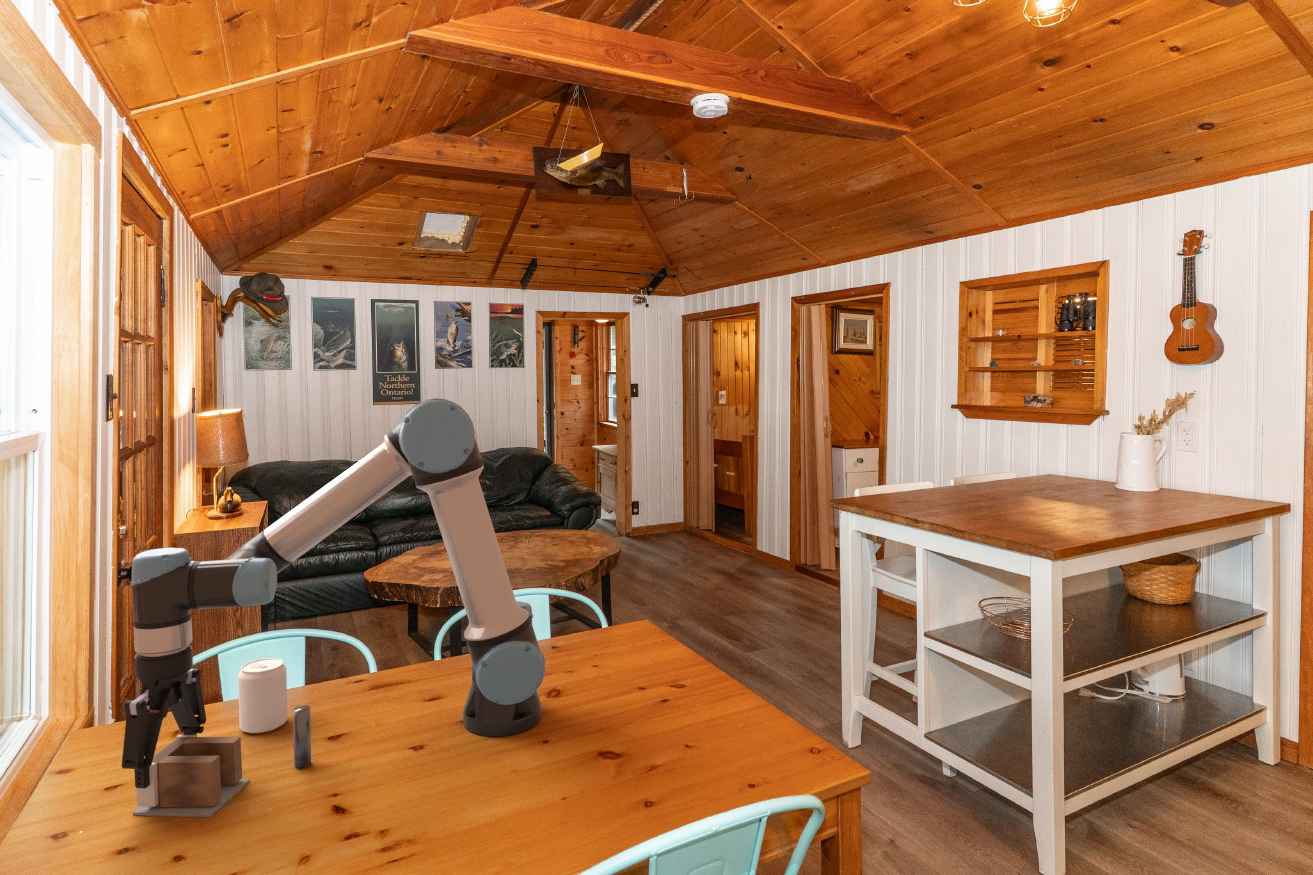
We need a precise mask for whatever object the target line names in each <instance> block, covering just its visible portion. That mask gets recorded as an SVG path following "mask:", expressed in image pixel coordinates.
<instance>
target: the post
mask: <svg viewBox="0 0 1313 875" xmlns="http://www.w3.org/2000/svg"><path fill="white" fill-rule="evenodd" d="M292 715H293V716H292V719H293V720H292V721H293V725H292V726H293V756H294V757H293V758H294V759H293V760H294V762H293V764H294V769H297V770H303V769H306V768H307V769H308V768H309V767H310V766H311V765H312V743H311V742H312V738H311V736H312V735H311V705H306V704H305V705H304V704H303V705H299V706H295V707H294V708H293V709H292Z"/></svg>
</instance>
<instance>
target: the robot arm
mask: <svg viewBox="0 0 1313 875" xmlns="http://www.w3.org/2000/svg"><path fill="white" fill-rule="evenodd" d="M475 435H476V430H475V426H474V423H473V421H472V418H471V417H470V415H469V414H468V412H466V410H465V409H464V408H463V407H462V406H461V405H459V404H458V403H456V402H453V401H451V400H448V399H445V398H430V399H425V400H423V401H421V402H417V403H416V404H414V405H413V406H411V408H410V409H409V410H407V412H406V413H405V414H404V416H403V418H402V420H401V422H400V423H398V424H397V426H395V427H393V429H391V430H390V431H388V432H387V433H385V434H384V439H383V442H382V443H381V444H379V446H377V447H376V448H375V449H373V450H372V451H370V452H369V453H368V454H366V455H365V456H363V458H361V459H360V460H358V461H356V463H354V464H353V465H352V466H350V467H348V468H347V469H346V470H344V471H343V472H342V473H341V474H339V475H338V476H336V477H335V478H334V479H332V480H331V481H329V482H328V483H326V484H325V485H324V486H323V487H321V488H320V489H319V490H317V491H315V492H314V493H313V494H311V495H310V496H309V497H308V498H306V499H304V500H303V501H302V502H300V503H299V504H298V505H296V506H295V507H294V508H292V509H291V510H290V511H288V512H287V513H285V514H284V515H282V516H281V517H280V518H278V519H277V520H275V521H274V522H273V523H271V524H270V525H269V526H267V527H266V528H265V529H264V530H262V531H261V532H259V533H258V534H256V535H255V536H254V537H252V538H251V539H250V540H248V541H246V542H244V543H243V544H241V545H240V546H239V547H238V548H237V549H235V551H234V552H233V553H231V554H230V555H229V556H228V557H226V558H225V559H217V560H216V559H215V560H199V561H198V560H192V558H191V557H190V551H189V550H187V549H186V548H183V547H163V548H155V549H149V550H148V549H147V550H144V551H142V552H140V553H137V554H136V555H135V556H134V557H133V559H132V561H131V581H130V587H131V588H130V589H131V600H132V601H131V603H132V604H131V605H132V617H133V618H132V619H133V622H132V623H133V624H132V625H133V647H134V648H133V649H134V651H135V652H136V653H135V655H134V657H133V659H134V676H135V678H136V679H137V680H139V681H140V683H141V689H140V692H139V696H138V697H136V698H135V699H134V700H132V699H131V700H129V699H128V700H127V701H126V702H125V703H124V710H125V711H124V712H125V726H124V728H125V729H124V738H123V747H122V748H123V749H122V759H121V768H122V769H127V770H132V769H133V770H134V786H135V788H136V803H137V804H136V806H137V807H141V806H148V807H155V806H156V805H158V779H157V763H154V762H152V761H153V757H154V756H155V752H156V749H157V744H158V742H159V741H158V740H159V736H160V732H161V728H162V724H163V720H164V719H165V718H166V717H167V716H168V713H169V709H170V711H171V713H172V716H173V719H174V720H175V722H176V725H177V727H178V729H179V731H180V733H182V734H178V735H177V736H176V739H177V738H178V737H198V735H197V734H202V733H203V732H204V730H205V726H204V725H205V724H206V722H207V713H206V709H205V702H204V696H203V691H202V685H201V684H202V683H201V677H202V669H201V668H193V665H194V660H193V659H194V658H193V646H192V645H191V643H192V642H193V623H192V622H193V621H192V610H207V609H211V610H212V609H223V608H224V609H227V608H250V607H254V606H261V605H262V606H263V605H268V604H270V603H271V602H272V601H273V600H274V598H275V596H276V591H277V587H278V586H277V585H278V574H280V573H281V572H282V571H283V570H285V569H286V568H288V567H289V566H290V565H291V564H292V563H293V562H295V561H297V559H298V558H300V557H301V556H302V555H304V554H306V553H307V552H308V551H310V550H311V549H313V548H314V547H315V546H316V545H318V544H320V542H322V541H323V540H324V539H325V538H327V537H329V536H331V534H333V533H334V532H335V531H337V530H338V529H339V528H341V527H342V526H344V525H345V524H346V523H347V522H349V521H350V520H352V519H353V518H354V517H356V516H357V515H358V514H359V513H361V512H362V511H364V510H365V509H367V508H368V507H369V506H370V505H372V504H374V503H375V502H376V501H377V500H378V499H380V498H382V497H383V496H384V495H385V494H387V493H388V492H389V491H391V490H392V489H394V488H395V487H396V486H398V485H399V484H401V482H403V481H404V480H406V479H407V478H409V477H411V476H412V478H413V481H414V483H415V484H414V485H415V487H416V488H417V489H418V490H421V491H423V492H425V493H427V495H428V497H429V500H430V502H431V507H432V509H433V512H434V515H435V518H436V519H435V520H436V522H437V525H438V529H439V532H440V536H441V537H442V540H443V543H444V547H445V550H446V552H447V557H448V559H449V563H450V566H451V569H452V572H453V576H454V579H455V582H456V584H457V589H458V591H459V594H460V597H461V601H462V604H463V607H464V609H465V613H466V616H467V618H468V625H467V627H466V628H465V630H464V633H463V637H464V639H465V642H466V647H467V649H468V653H469V656H470V658H471V685H470V688H469V692H468V694H467V698H466V700H465V704H464V707H463V712H462V724H463V726H464V728H465V730H467V731H469V732H470V733H473V734H475V735H480V736H487V737H504V736H510V735H511V736H512V735H516V734H520V733H522V732H526V731H528V730H530V729H532V728H533V727H534V726H536V725H537V724H538V723H539V722H540V721H541V719H542V702H541V699H540V696H539V693H538V690H539V688H540V687H541V685H542V683H543V681H544V678H545V674H546V660H545V657H544V653H543V652H542V651H541V649H540V648H541V647H540V646H539V642H538V639H537V635H536V633H535V632H536V631H535V630H534V627H533V618H534V614H533V609H532V605H531V604H530V603H528V602H526V601H525V602H524V601H519V600H516V597H515V594H514V591H513V588H512V584H511V581H510V578H509V574H508V572H507V568H506V565H505V561H504V558H503V555H502V554H503V553H502V551H501V549H500V545H499V542H498V538H497V535H496V532H495V529H494V525H493V522H492V519H491V516H490V513H489V509H488V506H487V503H486V499H485V496H484V492H483V489H482V487H481V483H480V480H479V477H480V475H481V474H482V472H483V470H484V468H485V466H484V463H483V462H484V461H483V459H482V455H481V453H480V450H479V445H478V443H477V439H476V436H475ZM152 711H155V712H152ZM157 711H158V712H157ZM201 725H202V726H201Z"/></svg>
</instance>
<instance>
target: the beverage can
mask: <svg viewBox="0 0 1313 875" xmlns="http://www.w3.org/2000/svg"><path fill="white" fill-rule="evenodd" d="M237 679H238V680H237V681H238V682H237V683H238V684H237V686H238V687H237V688H238V715H239V717H238V718H239V721H238V722H239V729H240V730H241V731H242V732H245V733H249V734H262V733H268V732H271V731H274V730H276V729H277V728H280V727H281V726H283V725H284V724H285V723H287V720H288V717H289V716H288V715H289V714H288V688H287V687H288V684H287V683H288V677H287V666H286V665H285V664H284V660H283V659H281V658H275V657H266V658H260V659H259V658H258V659H255V660H251V661H248V662H246V663H244V664H243V665H241V667H240V671H239V672H238V676H237Z"/></svg>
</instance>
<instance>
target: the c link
mask: <svg viewBox="0 0 1313 875" xmlns="http://www.w3.org/2000/svg"><path fill="white" fill-rule="evenodd" d="M241 739H242V738H241V736H197V737H178V738H177V737H176V738H175V739H174V740H173V741H172V742H170V743H169V744H168V745H167V746H165V747H163V748H162V749H161V750H160V751H159V752H157V753H156V754H154V757H153V761H152V762H154V763H157V779H158V805H156V806H155V807H199V806H215V805H216V804H217V803H218V802H219V801H220V800H221V785H233V784H237V783H238V782H239V781H240V780H241V779H243V763H242V761H243V760H242V741H241ZM147 807H148V806H147Z"/></svg>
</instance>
